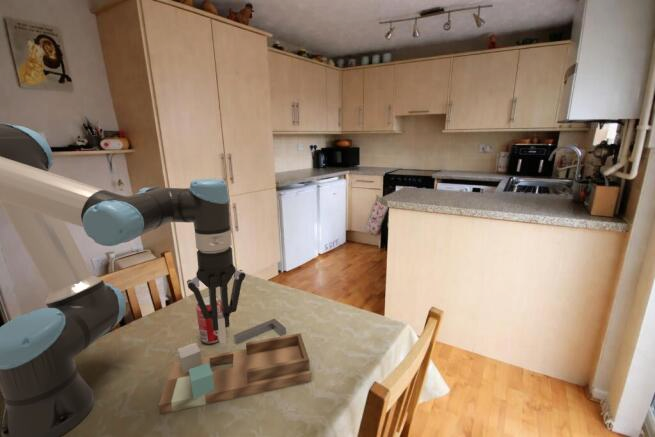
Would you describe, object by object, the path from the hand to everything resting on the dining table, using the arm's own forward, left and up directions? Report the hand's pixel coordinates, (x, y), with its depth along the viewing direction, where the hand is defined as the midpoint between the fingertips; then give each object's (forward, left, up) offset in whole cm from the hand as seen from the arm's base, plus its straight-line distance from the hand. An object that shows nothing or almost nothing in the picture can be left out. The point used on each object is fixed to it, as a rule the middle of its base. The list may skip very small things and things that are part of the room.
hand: (222, 339), depth 76 cm
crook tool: (+9, +16, -12) cm, 22 cm away
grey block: (-9, +5, -9) cm, 13 cm away
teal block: (-5, -4, -9) cm, 11 cm away
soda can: (-5, +19, -12) cm, 23 cm away
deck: (+3, 0, -12) cm, 12 cm away
